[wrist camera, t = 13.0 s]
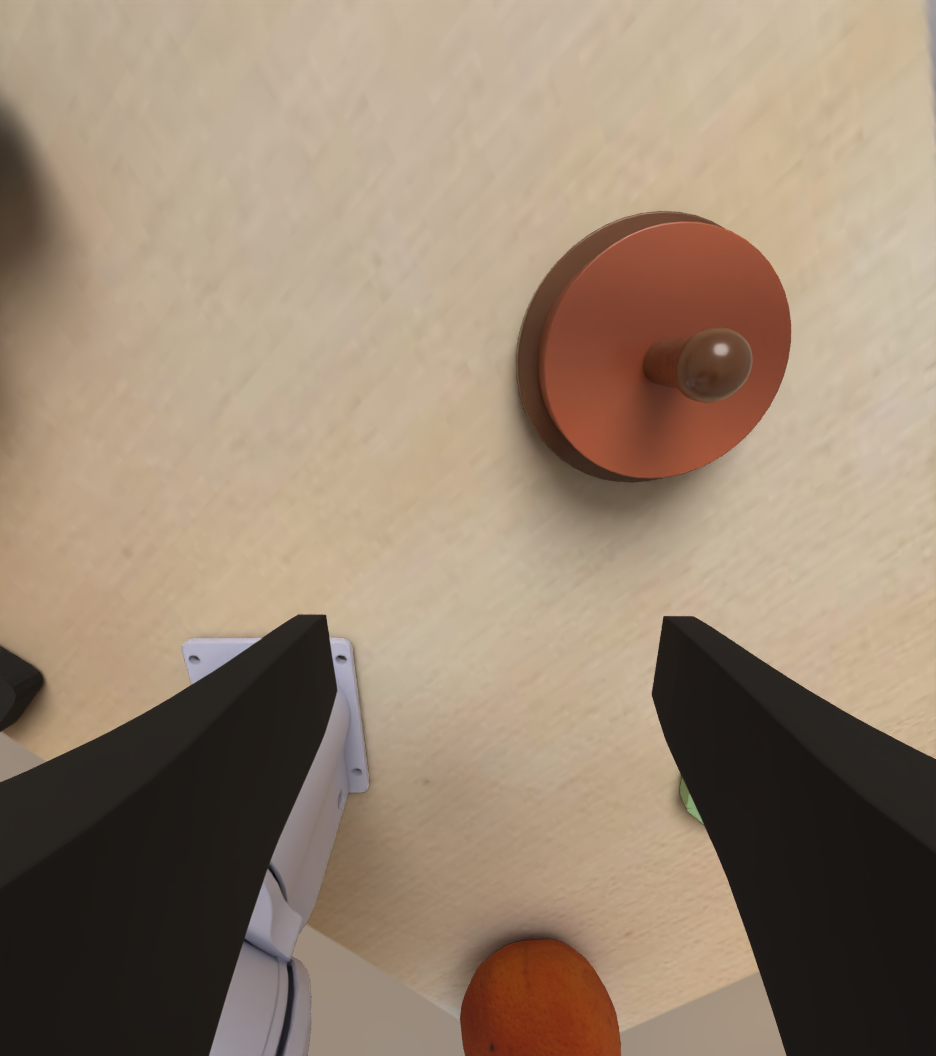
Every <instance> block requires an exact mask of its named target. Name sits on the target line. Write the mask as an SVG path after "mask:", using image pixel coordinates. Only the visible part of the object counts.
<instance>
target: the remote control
mask: <svg viewBox="0 0 936 1056" xmlns="http://www.w3.org/2000/svg"><path fill="white" fill-rule="evenodd" d="M41 682H42V680H41V677H40V675H39V672H37V671H36V670H35V669H34V668H33V667H32V666H31V665H29V664H27V663H26V662H24V661H22V660H21V659H19V658H18V657H16V656H14V655H13V654H11V653H9V652H8V651H6V650H4V649H3V648H1V647H0V732H1V731H3V730H4V729H6V728H8V727H9V726H11V725H12V724H14V723H15V722H16V721H17V720H18V719H19V717H20V716H21V714H22V713H23V711H24V710H25V709H26V707H27V706H28V704H29V703H30V702H31V700H32V699H33V697H34V696H35V694H36V693H37V692H38V690H39V689H40V686H41Z"/></svg>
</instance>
